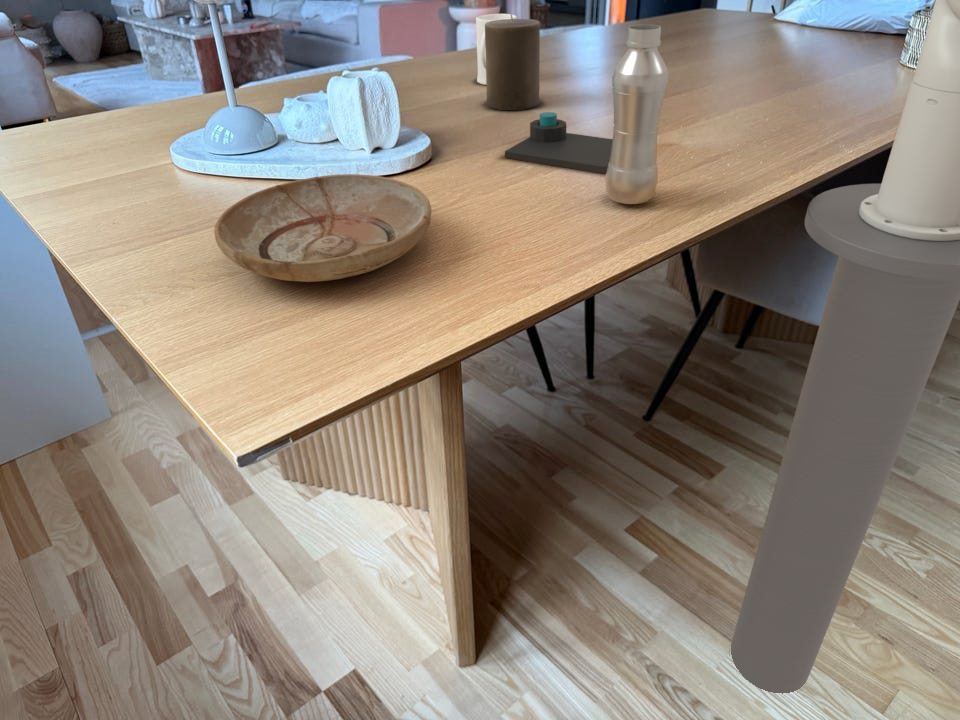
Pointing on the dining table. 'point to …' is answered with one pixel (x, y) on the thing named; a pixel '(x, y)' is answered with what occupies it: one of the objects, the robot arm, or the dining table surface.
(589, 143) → the scale
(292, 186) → the ceramic bowl
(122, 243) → the dining table surface
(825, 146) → the dining table surface
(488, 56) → the pillar candle
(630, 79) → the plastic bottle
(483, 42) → the mug
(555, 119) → the button
